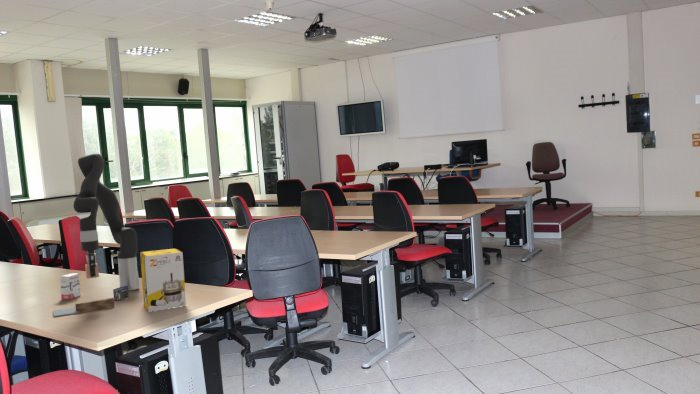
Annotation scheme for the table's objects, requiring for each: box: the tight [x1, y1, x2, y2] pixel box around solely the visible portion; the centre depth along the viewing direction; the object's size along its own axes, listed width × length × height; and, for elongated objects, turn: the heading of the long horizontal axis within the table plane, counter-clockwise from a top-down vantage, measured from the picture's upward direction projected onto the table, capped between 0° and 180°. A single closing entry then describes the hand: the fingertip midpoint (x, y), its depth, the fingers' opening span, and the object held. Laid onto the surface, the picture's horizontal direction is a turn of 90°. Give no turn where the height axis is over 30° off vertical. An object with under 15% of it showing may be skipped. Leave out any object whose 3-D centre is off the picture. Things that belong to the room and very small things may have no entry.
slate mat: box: [52, 306, 80, 318], centre depth 254 cm, size 10×12×1 cm
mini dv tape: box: [112, 286, 129, 302], centre depth 275 cm, size 8×2×6 cm, turn 160°
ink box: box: [59, 272, 81, 300], centre depth 285 cm, size 9×5×12 cm, turn 168°
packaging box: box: [139, 248, 187, 313], centre depth 257 cm, size 16×16×25 cm
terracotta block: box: [84, 262, 100, 280], centre depth 262 cm, size 5×5×6 cm
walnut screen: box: [75, 297, 115, 313], centre depth 257 cm, size 16×2×4 cm, turn 120°
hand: (92, 275), depth 262 cm, fingers closed on terracotta block, 5 cm apart
